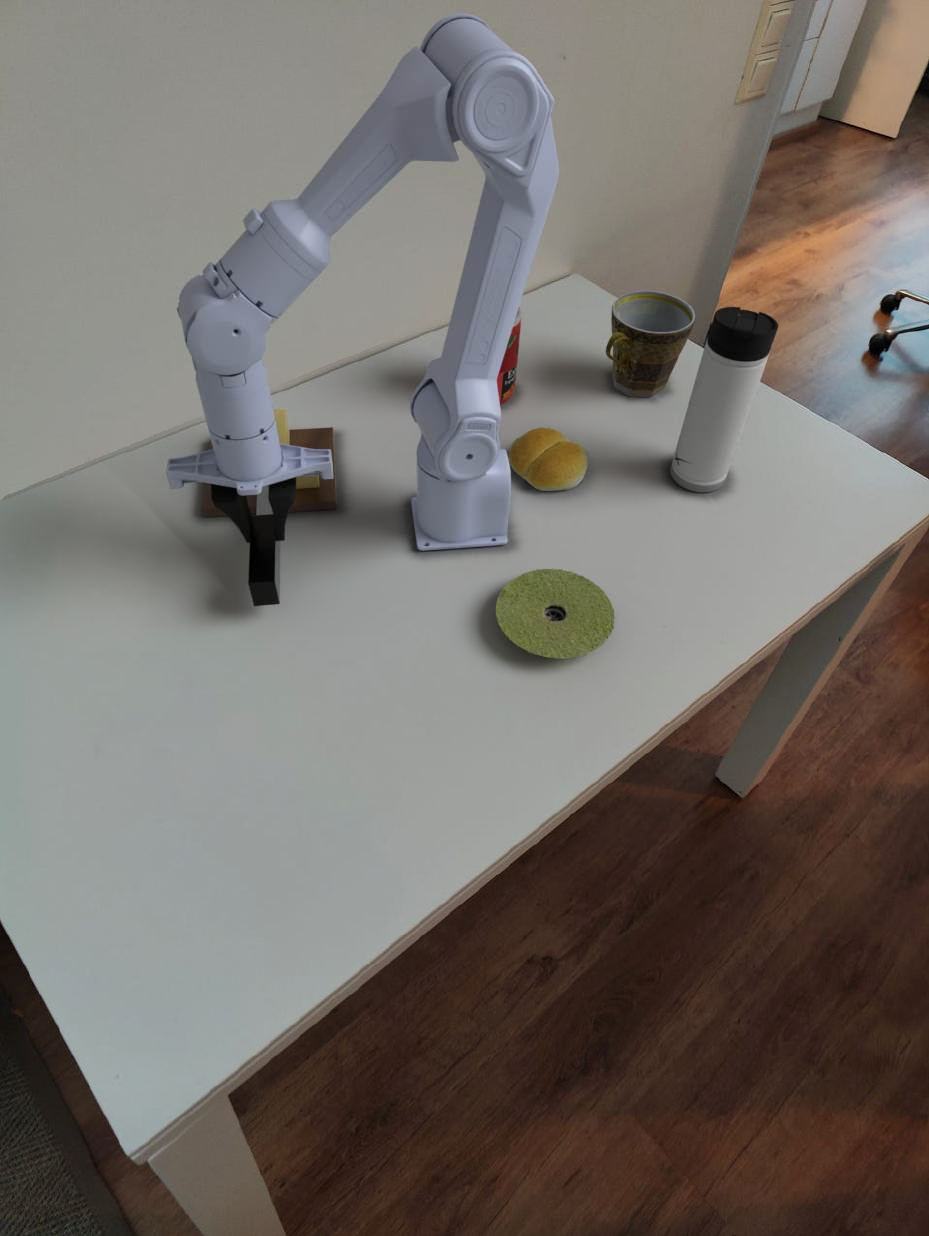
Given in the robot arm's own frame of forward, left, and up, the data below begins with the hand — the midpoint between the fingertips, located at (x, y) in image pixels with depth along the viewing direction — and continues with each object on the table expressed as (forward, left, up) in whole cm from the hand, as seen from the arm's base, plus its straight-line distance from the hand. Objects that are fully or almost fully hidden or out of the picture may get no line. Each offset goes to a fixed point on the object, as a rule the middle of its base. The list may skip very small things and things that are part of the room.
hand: (265, 534), depth 81 cm
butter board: (0, -14, -4) cm, 14 cm away
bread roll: (-31, -12, -4) cm, 33 cm away
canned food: (-26, -28, -4) cm, 38 cm away
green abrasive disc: (-27, +11, -4) cm, 29 cm away
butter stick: (0, -16, -2) cm, 16 cm away
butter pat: (-3, -10, -2) cm, 11 cm away
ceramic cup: (-45, -27, -4) cm, 52 cm away
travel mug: (-48, -9, -4) cm, 49 cm away
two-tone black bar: (0, -1, -1) cm, 2 cm away
